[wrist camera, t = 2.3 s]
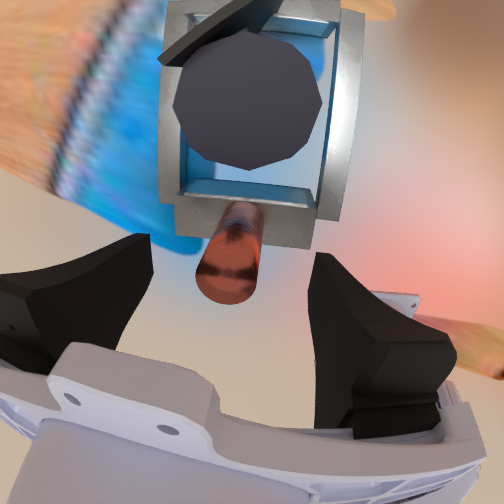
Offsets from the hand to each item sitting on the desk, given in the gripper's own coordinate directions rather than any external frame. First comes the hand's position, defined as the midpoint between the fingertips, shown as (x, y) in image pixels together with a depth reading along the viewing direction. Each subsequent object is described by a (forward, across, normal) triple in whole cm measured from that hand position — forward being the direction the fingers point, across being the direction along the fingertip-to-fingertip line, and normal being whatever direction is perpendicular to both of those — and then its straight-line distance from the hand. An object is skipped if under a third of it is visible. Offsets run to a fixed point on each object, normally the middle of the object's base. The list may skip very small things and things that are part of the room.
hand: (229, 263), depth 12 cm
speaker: (+9, 0, -8) cm, 12 cm away
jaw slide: (+9, 0, 0) cm, 9 cm away
